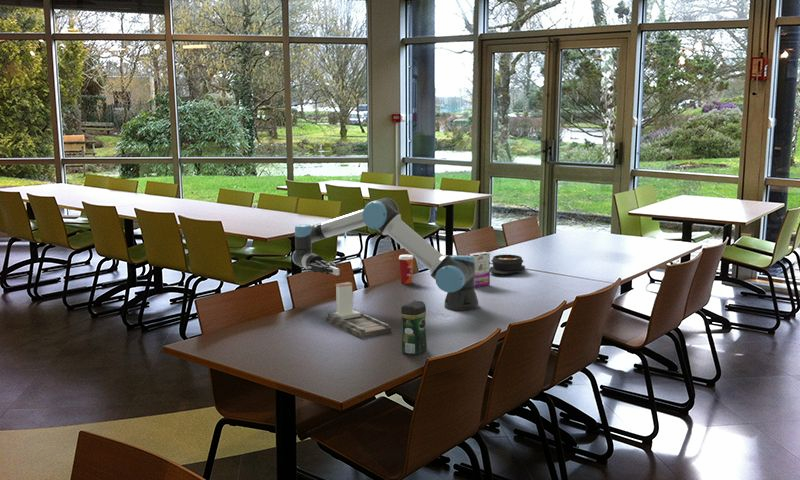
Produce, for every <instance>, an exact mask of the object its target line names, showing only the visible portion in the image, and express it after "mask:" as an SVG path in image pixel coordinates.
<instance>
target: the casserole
mask: <svg viewBox="0 0 800 480" xmlns="http://www.w3.org/2000/svg"><path fill="white" fill-rule="evenodd" d="M490 262H491V263H492V266H490V274H491V273H492V274H496V275H497V274H499V275H515V274H518V273H522V272H524V271H525V269H526V266H525V265H522V264H523V263H524V260H523V258H522V256H520V255H515V254H497V255H494V256H493V257H492V259H491V260H490Z"/></svg>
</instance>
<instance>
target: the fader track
mask: <svg viewBox="0 0 800 480" xmlns="http://www.w3.org/2000/svg"><path fill="white" fill-rule="evenodd" d="M353 310H355V311H358V312H360V313H361V316H360V317H354V318H348V319H342V318H340V317H338V316H336V315H334V313H331V312H327V315H326V316H325V321H326V322H327V323H329V324H332V325H334V326H336V327H337V328H339V329H341V330H344V331H346V332H348V333H350V334H352V335H353V336H356V337H357V338H359V339H363V338H368V337H375V336H380V335H386V334H390V333H393V332H392V330H393V329H392V327H391V326H390V324H388V323H386V322H383V321H381V320H379V319H377V318H374V317H372V316H370V315H368V314H366V313H364V312H361V311H359V310H357V309H354V308H353Z"/></svg>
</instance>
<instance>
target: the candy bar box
mask: <svg viewBox="0 0 800 480" xmlns="http://www.w3.org/2000/svg"><path fill="white" fill-rule="evenodd" d="M490 255H491V254H490V252H487V251H481V252H473V253H472V252H471V253H466V254H465V256H472V257H474V259H475V288H480V287H487V286H491V282H490V281H491V278H490V276H491V272H490V268H491V266H490V262H491V260H490V257H491V256H490Z"/></svg>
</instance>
